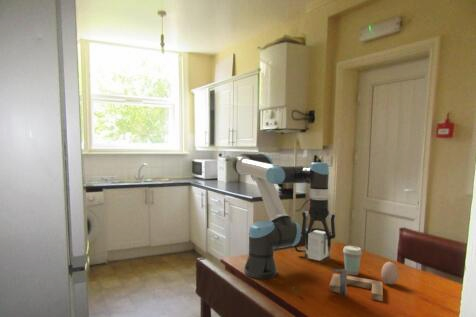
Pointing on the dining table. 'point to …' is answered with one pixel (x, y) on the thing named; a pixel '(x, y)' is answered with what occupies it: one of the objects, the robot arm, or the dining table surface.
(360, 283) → the tan arch frame
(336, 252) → the dining table surface
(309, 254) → the small box
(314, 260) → the mug
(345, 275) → the hook post
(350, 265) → the coffee cup
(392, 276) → the egg
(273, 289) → the dining table surface
